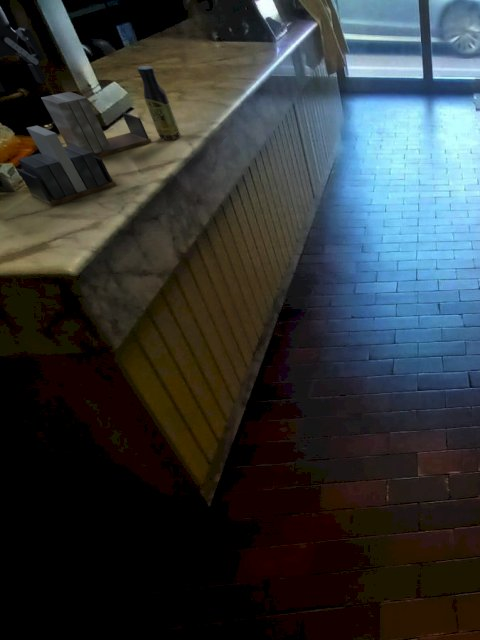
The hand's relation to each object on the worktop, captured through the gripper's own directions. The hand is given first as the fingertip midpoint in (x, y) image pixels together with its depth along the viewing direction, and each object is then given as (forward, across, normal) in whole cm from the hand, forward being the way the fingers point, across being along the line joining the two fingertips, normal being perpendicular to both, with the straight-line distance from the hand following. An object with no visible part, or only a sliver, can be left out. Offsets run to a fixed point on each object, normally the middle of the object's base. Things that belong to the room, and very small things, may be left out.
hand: (21, 86), depth 116 cm
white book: (+24, -1, -3) cm, 24 cm away
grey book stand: (+25, -24, -24) cm, 43 cm away
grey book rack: (+25, -1, -3) cm, 25 cm away
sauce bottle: (+25, -40, -17) cm, 50 cm away
